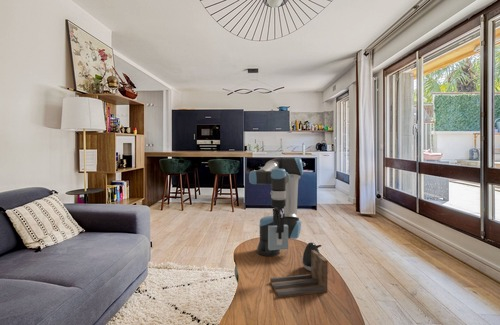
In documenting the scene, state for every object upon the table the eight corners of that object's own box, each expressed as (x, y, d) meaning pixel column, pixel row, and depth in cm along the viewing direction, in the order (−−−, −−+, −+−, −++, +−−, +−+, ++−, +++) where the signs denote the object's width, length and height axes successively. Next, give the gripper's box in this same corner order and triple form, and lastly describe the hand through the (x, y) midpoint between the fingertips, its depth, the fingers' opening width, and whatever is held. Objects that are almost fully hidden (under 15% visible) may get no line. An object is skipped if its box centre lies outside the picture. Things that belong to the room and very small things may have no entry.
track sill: (270, 282, 134) (270, 253, 134) (314, 278, 139) (314, 249, 138) (278, 297, 120) (278, 265, 120) (327, 291, 125) (327, 260, 125)
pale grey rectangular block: (268, 248, 138) (268, 225, 138) (286, 247, 140) (286, 224, 140) (269, 250, 135) (269, 227, 135) (288, 249, 137) (288, 226, 137)
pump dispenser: (321, 274, 143) (322, 246, 143) (302, 272, 145) (302, 245, 145) (320, 266, 153) (320, 240, 153) (302, 264, 155) (302, 239, 155)
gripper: (267, 196, 144) (267, 239, 145) (275, 201, 128) (275, 249, 129) (280, 195, 145) (280, 238, 146) (290, 201, 130) (290, 248, 131)
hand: (278, 243), depth 138 cm, fingers closed on pale grey rectangular block, 3 cm apart
